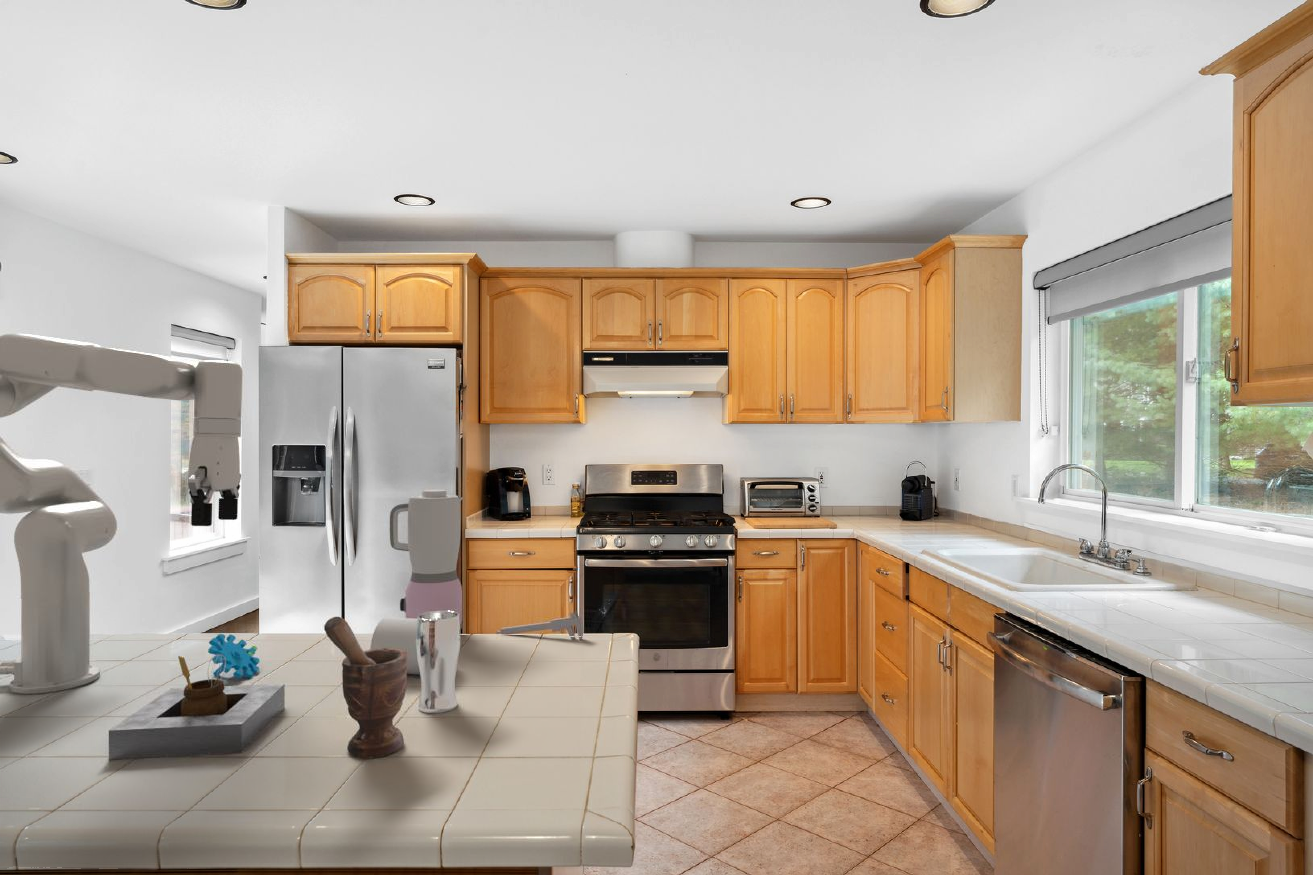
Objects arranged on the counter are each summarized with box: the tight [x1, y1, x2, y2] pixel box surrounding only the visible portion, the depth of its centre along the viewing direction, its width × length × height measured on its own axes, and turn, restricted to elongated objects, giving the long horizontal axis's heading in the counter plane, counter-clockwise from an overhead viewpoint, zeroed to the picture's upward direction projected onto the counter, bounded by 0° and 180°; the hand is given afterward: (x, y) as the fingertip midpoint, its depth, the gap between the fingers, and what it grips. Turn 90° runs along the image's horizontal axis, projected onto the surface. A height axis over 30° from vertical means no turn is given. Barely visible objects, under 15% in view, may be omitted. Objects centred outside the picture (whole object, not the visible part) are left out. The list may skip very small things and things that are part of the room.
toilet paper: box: [369, 617, 420, 676], centre depth 140 cm, size 10×10×10 cm
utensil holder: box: [177, 654, 227, 717], centre depth 112 cm, size 6×6×12 cm
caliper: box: [495, 611, 584, 641], centre depth 165 cm, size 20×1×6 cm, turn 76°
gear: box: [207, 633, 260, 679], centre depth 138 cm, size 11×6×10 cm
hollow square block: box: [108, 683, 286, 761], centre depth 111 cm, size 17×17×4 cm
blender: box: [389, 489, 464, 630], centre depth 166 cm, size 16×12×32 cm
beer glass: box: [416, 611, 461, 714], centre depth 122 cm, size 7×7×15 cm
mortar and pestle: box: [323, 616, 408, 759], centre depth 104 cm, size 12×9×20 cm
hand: (215, 522), depth 136 cm, fingers open, 9 cm apart
